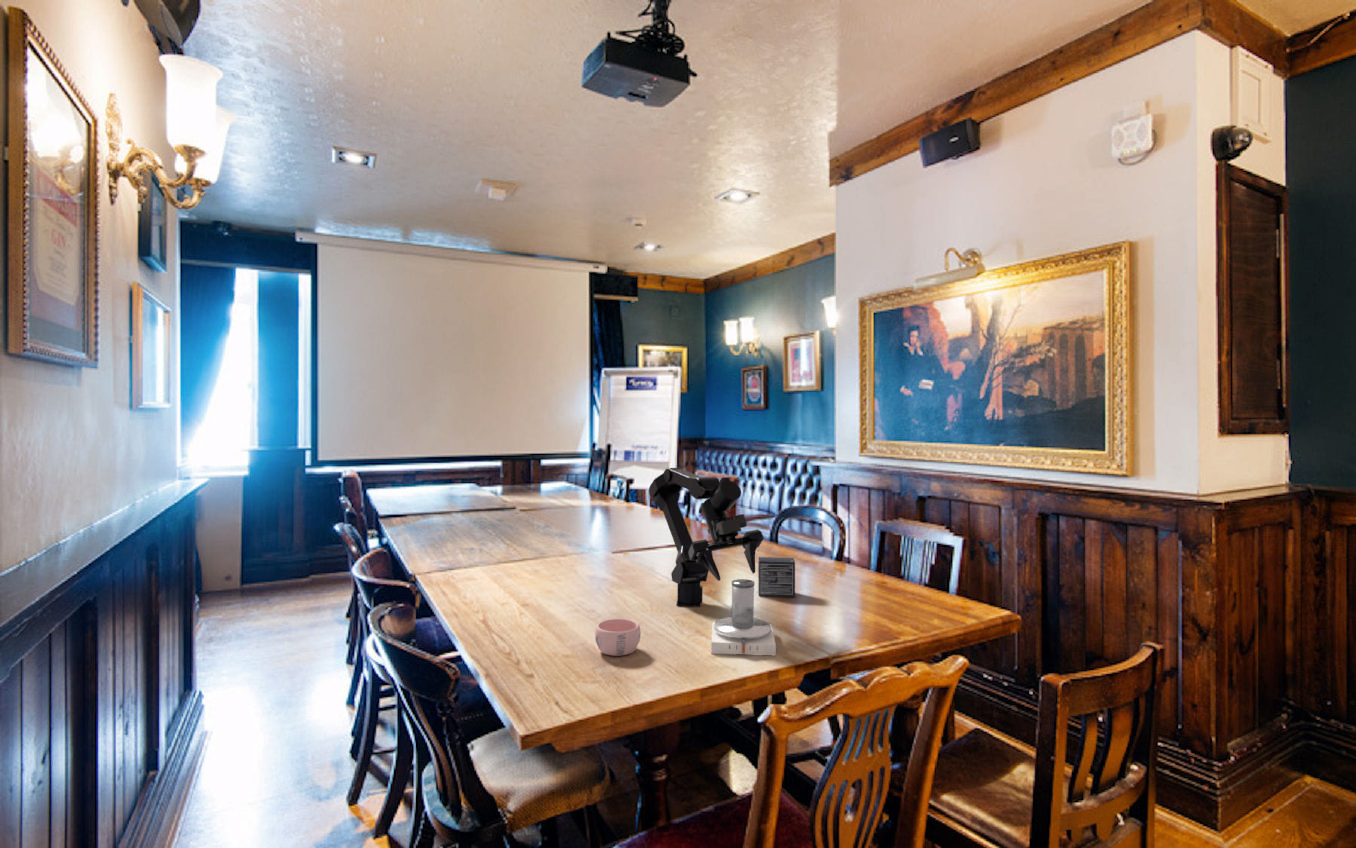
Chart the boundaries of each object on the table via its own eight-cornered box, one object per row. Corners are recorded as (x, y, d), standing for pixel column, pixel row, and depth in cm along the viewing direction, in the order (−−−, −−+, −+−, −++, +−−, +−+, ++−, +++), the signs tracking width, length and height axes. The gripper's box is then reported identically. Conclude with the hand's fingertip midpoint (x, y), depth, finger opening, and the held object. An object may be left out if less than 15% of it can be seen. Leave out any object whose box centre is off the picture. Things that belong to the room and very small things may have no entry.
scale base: (711, 653, 142) (711, 642, 142) (712, 632, 156) (712, 621, 156) (775, 656, 141) (775, 644, 141) (771, 634, 155) (771, 623, 155)
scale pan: (713, 652, 141) (713, 636, 141) (714, 630, 156) (714, 615, 156) (773, 654, 140) (773, 638, 140) (769, 632, 155) (769, 617, 155)
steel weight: (727, 626, 148) (727, 582, 148) (738, 620, 152) (738, 578, 152) (747, 630, 145) (747, 586, 145) (757, 624, 149) (758, 581, 149)
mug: (645, 657, 140) (645, 630, 140) (600, 662, 136) (600, 634, 136) (631, 639, 151) (631, 613, 151) (589, 643, 148) (589, 617, 148)
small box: (793, 592, 192) (794, 557, 192) (795, 598, 186) (796, 562, 186) (757, 590, 194) (758, 556, 193) (758, 597, 187) (758, 560, 187)
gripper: (689, 511, 157) (708, 570, 149) (758, 498, 163) (781, 555, 154) (680, 532, 166) (698, 589, 158) (747, 519, 171) (767, 574, 163)
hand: (736, 576), depth 158 cm, fingers open, 9 cm apart
